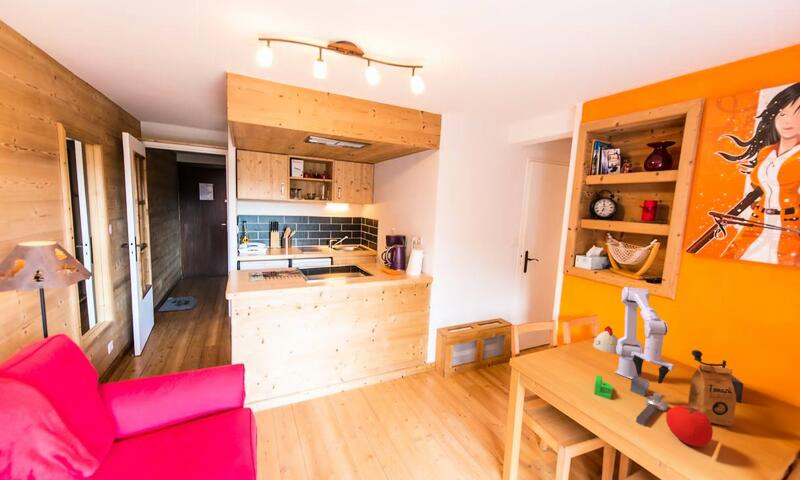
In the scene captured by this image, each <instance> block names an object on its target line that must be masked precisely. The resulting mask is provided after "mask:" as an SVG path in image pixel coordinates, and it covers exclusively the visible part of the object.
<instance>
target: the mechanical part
mask: <svg viewBox="0 0 800 480" xmlns="http://www.w3.org/2000/svg"><path fill="white" fill-rule="evenodd" d="M594 383H595V385H594V393H593V394H594V395H595V396H597V397H601V398H604V399H607V400H611V398H612V395H613V387H614V386H613V385H612V384H610V383H609V382H605V381H603V376H602V375H599V374H596V376H595V382H594Z"/></svg>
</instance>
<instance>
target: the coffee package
mask: <svg viewBox="0 0 800 480" xmlns="http://www.w3.org/2000/svg"><path fill="white" fill-rule="evenodd" d="M730 374H732V375H733V369H732V368H726V367H725V368H722V366H709V365H704V364H699V365H698V366H697V367H696V369H695V371H694V372H693V374H692V378H691V382H690V387H689V393H688V402H687V406H688V405H689V406H690V407H693V408H695V409H697V410H699V411H701V412H703V413H704V414H705V415H706V416H707V417H708V419H709V421H710V423H711V424H716V425H719V426H726V427H732V426H734V423H735V413H736V407H737V402H736V394H735V390H734V386H733V384H732V379H731V376H730Z"/></svg>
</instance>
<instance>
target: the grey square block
mask: <svg viewBox="0 0 800 480" xmlns="http://www.w3.org/2000/svg"><path fill="white" fill-rule="evenodd" d="M649 386H650V380H649V379H646V378H643V377H640V376H639V375H638V376H635V377H633V378H632V379H631V383H630V390H629V391H630V392H632V393H634V394H636V395H638V396H641V397H643V398H644V397H646V395H647V394H648V393H649V389H650V388H649Z"/></svg>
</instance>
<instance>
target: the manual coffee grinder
mask: <svg viewBox="0 0 800 480" xmlns="http://www.w3.org/2000/svg"><path fill="white" fill-rule="evenodd" d="M691 355H692V356H693V357H694V360H695V361H697V362H698V363H699V364H700V365H707V366H715V367H722V368H726V366H727V360H722V363H707V362H704V361H703V359H702V356H703V352H702V351H700V350H699V349H693V350H692V351H691ZM730 376H731V379H732V384H733V386H734V390H735V394H736V403H740V404H742V397H743V389H744V383H743V382H742V381H740V380H739V379H738V377H736V376H734V375H733V373H732V374H730Z"/></svg>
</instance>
